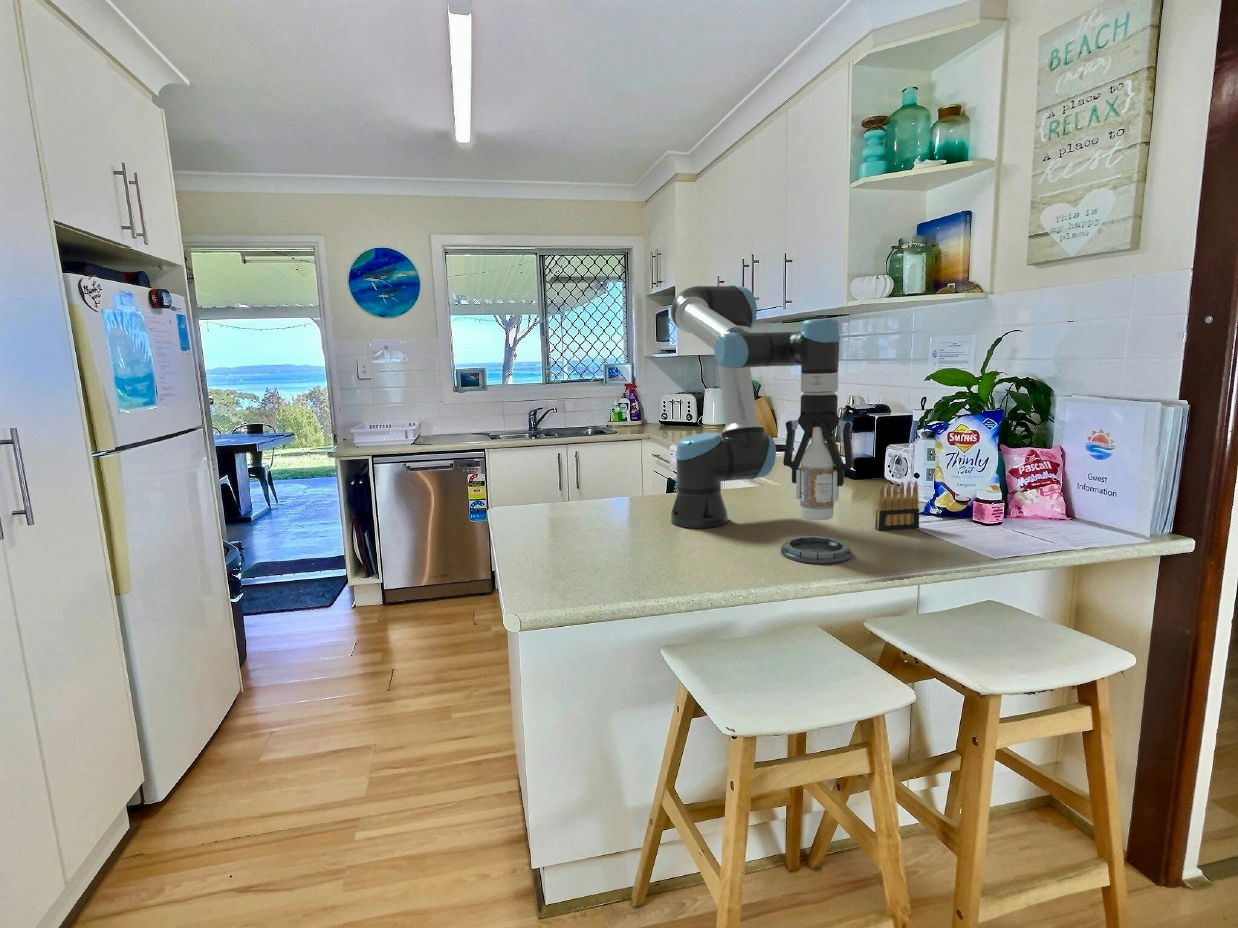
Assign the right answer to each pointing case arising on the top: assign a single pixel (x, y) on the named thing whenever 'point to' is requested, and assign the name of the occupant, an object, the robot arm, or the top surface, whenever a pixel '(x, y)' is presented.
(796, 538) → the ring tray
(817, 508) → the bath foam
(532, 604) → the top surface
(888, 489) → the ammunition clip
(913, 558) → the top surface
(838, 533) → the top surface
